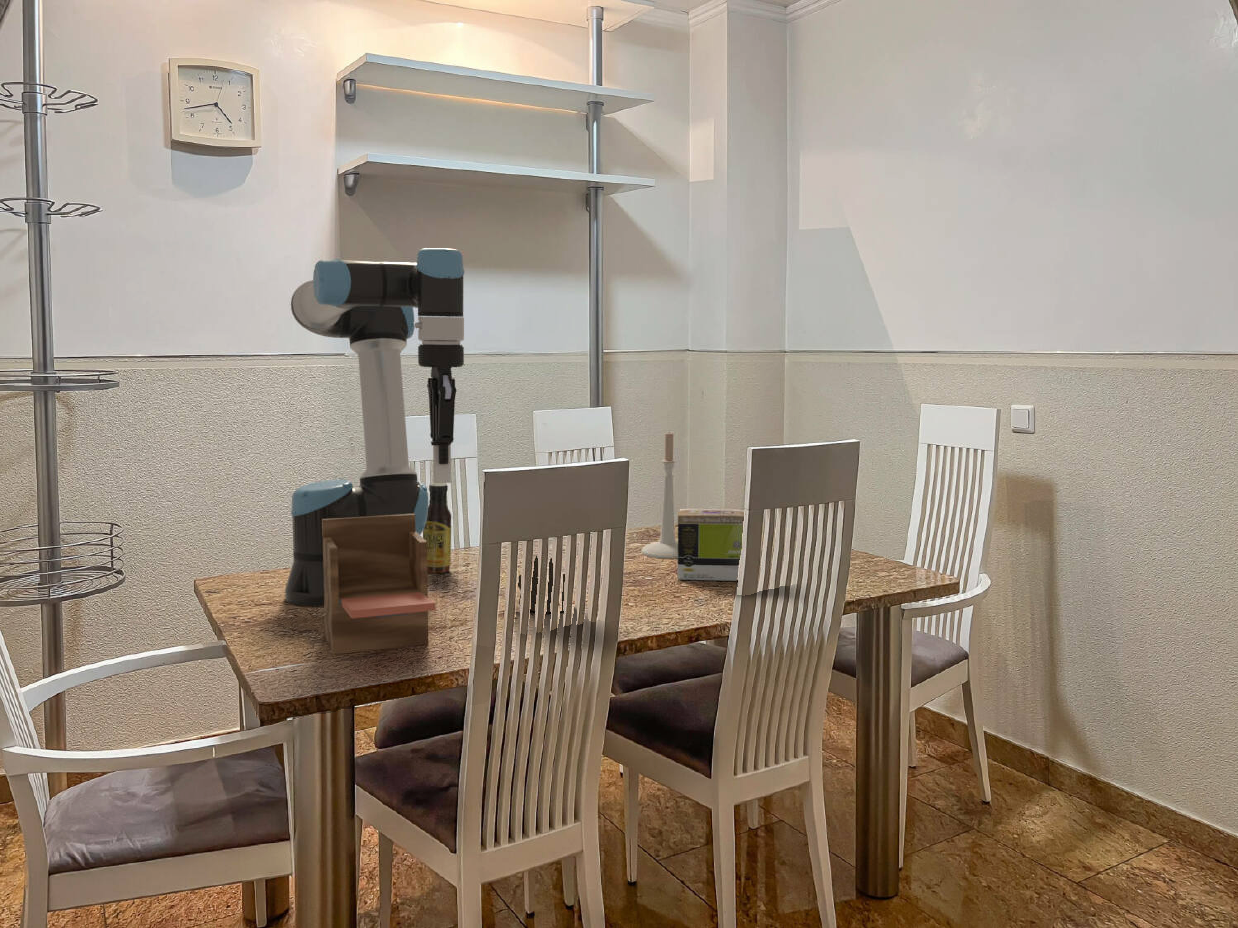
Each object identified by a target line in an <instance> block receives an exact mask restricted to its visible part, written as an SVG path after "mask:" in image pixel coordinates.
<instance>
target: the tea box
mask: <svg viewBox="0 0 1238 928" xmlns="http://www.w3.org/2000/svg"><path fill="white" fill-rule="evenodd" d="M743 521H744V508H690V507H688V508H684V507H683V508H679V510H678V514H677V542H678V558H677V580H682V581H683V580H684V581H685V580H686V581H687V580H689V581H723V582H724V581H728V582H730V581H731V582H738V581H737V577H738V565H739V560H740V555H741V549H742V533H743Z"/></svg>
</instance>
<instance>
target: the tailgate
mask: <svg viewBox="0 0 1238 928" xmlns="http://www.w3.org/2000/svg"><path fill="white" fill-rule="evenodd" d="M339 605H340V606H341V605H342V607H343V608H344V610H345V611H346V612H347V613H348V614H349V616H350V617H351V618H361V617H371V616H376V617H377V618H379V617H390V616H400V615H409V613H413V612H423V611H428V612H432V611H436V610H437V609H436V602H435V601H433V600H432V599H431V598H429V596H428V597H426V596H425V595H424V594H422V592H415V593H404V594H392V595H381V596H370V597H359V598H347V599H339Z"/></svg>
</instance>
